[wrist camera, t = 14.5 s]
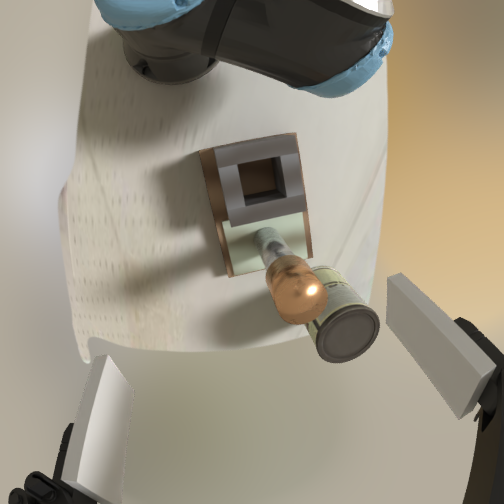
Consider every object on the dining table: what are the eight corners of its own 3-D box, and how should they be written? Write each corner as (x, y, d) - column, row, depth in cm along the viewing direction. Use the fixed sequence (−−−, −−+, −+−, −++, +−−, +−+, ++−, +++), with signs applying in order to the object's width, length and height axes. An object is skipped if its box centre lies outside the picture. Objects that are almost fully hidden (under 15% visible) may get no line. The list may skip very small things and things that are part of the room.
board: (199, 150, 41) (197, 153, 33) (292, 132, 42) (310, 132, 34) (227, 272, 49) (232, 297, 42) (309, 252, 50) (326, 273, 42)
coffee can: (352, 289, 54) (389, 332, 42) (310, 323, 56) (337, 373, 43) (325, 253, 50) (363, 294, 38) (279, 291, 52) (303, 341, 39)
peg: (253, 258, 46) (281, 329, 30) (247, 227, 44) (274, 287, 27) (285, 251, 46) (329, 316, 30) (281, 219, 44) (326, 273, 28)
